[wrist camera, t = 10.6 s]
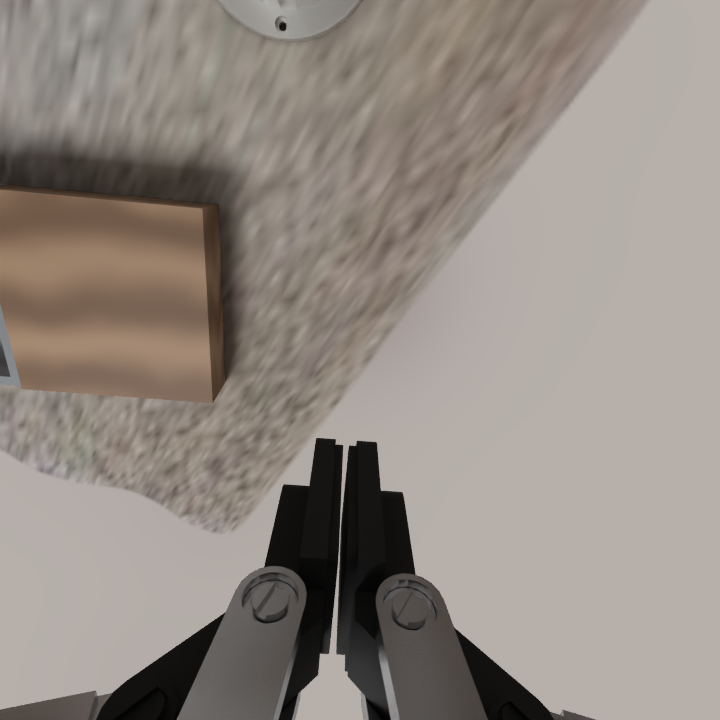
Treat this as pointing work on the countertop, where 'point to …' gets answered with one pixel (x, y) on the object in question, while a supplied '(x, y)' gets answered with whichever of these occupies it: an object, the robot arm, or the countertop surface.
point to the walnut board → (112, 293)
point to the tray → (7, 356)
